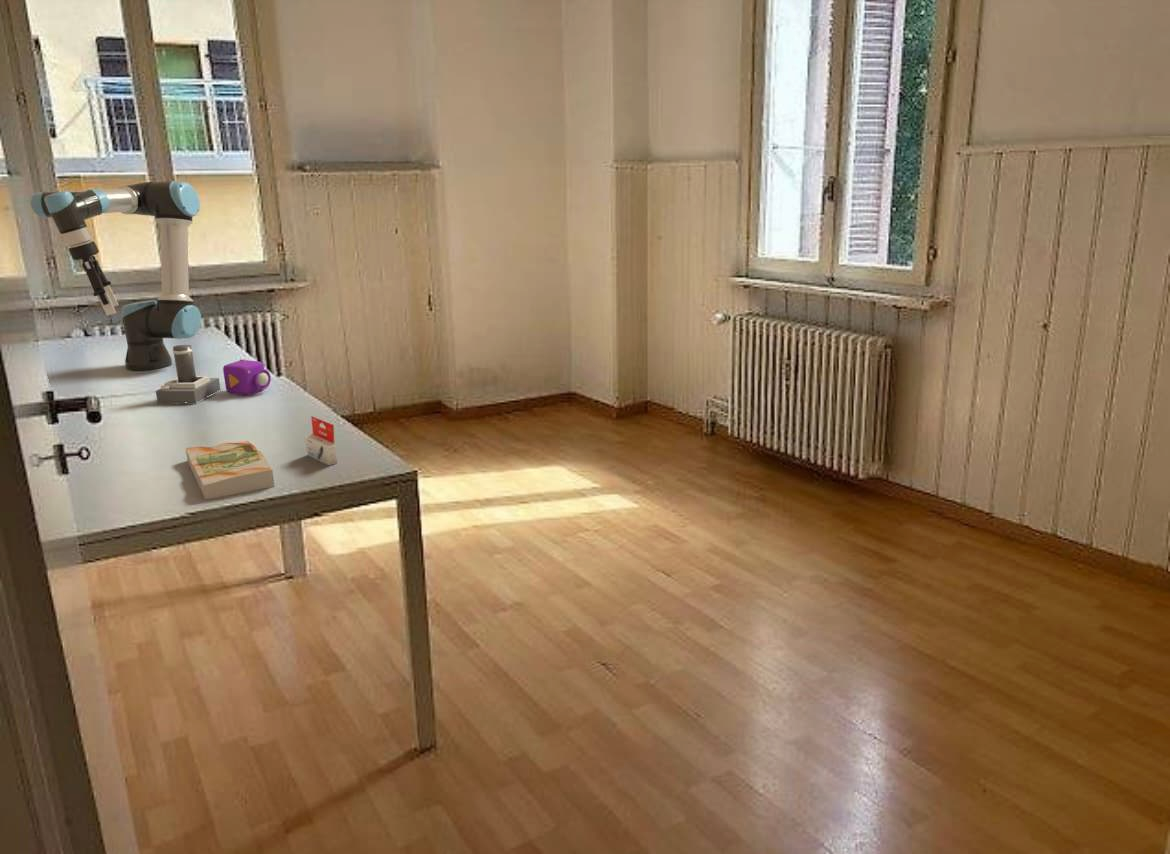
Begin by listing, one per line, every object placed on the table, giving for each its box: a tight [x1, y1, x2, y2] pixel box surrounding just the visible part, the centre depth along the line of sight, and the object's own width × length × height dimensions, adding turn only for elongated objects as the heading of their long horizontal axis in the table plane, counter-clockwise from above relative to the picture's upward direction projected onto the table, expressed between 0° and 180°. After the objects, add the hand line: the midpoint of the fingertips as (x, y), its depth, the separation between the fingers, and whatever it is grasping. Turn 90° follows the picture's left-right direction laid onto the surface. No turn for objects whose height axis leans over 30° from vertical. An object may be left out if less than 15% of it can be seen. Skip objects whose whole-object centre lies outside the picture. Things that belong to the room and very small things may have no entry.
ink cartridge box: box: [304, 416, 338, 466], centre depth 210 cm, size 2×11×10 cm, turn 45°
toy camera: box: [222, 357, 272, 396], centre depth 273 cm, size 11×14×10 cm
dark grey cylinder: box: [172, 344, 197, 383], centre depth 267 cm, size 5×5×12 cm
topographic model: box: [185, 440, 275, 500], centre depth 202 cm, size 30×14×5 cm, turn 30°
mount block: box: [155, 375, 221, 404], centre depth 269 cm, size 16×12×6 cm
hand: (113, 310), depth 268 cm, fingers open, 13 cm apart
